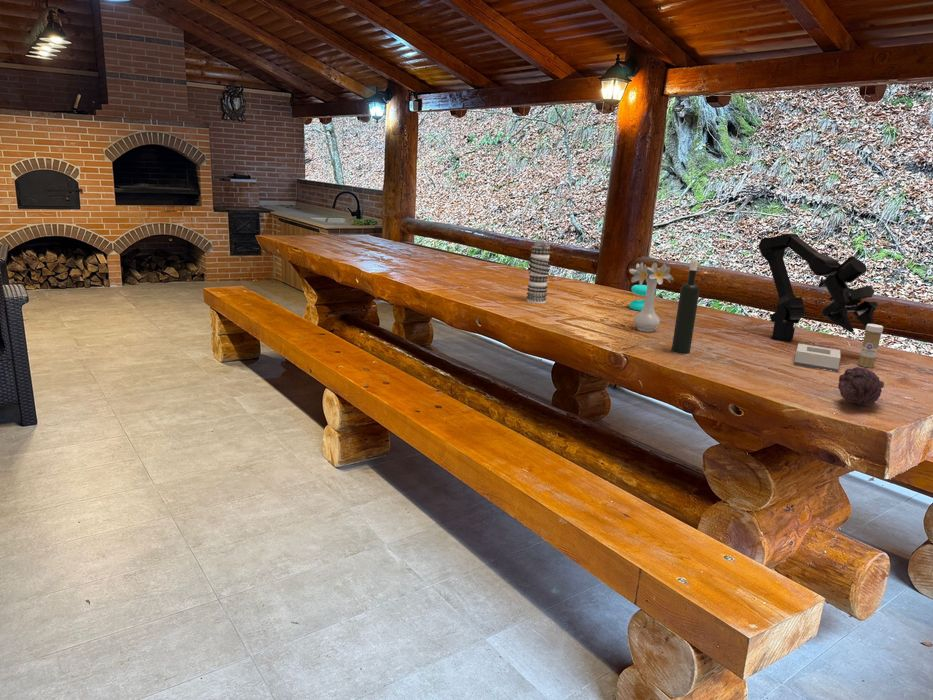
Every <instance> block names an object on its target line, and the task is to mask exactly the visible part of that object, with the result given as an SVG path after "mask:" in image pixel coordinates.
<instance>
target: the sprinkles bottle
mask: <svg viewBox="0 0 933 700" xmlns="http://www.w3.org/2000/svg"><path fill="white" fill-rule="evenodd" d="M883 331H884V326H883V325H880V324H876V323H873V324H867V325H866V327H865V332H864V337H863V340H862V341H863V342H862V345H861V350H860V353H859V358H858V362H857V365H858V366H860V367H861V368H866V369H868V368H869V369H872V368H874V366H875V362H876V358H877V354H878V350H879V345H880V342H881V341H880V340H881V336H882V334H883Z"/></svg>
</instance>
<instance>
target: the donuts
mask: <svg viewBox="0 0 933 700" xmlns="http://www.w3.org/2000/svg"><path fill="white" fill-rule="evenodd" d="M656 291H657V289H655V293H656ZM631 292H632V293H633V294H635V295H637V296H645V297H646V292H647V284H642V285H640V284H634V285H632V286H631ZM644 303H645V299H644V300H643V299H634V300H631V302H630V303H629V304H628V305H629V308H630V309H631V310H633V311H638V312H640V311H641V310H642V308H643V306H644Z"/></svg>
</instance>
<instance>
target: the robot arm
mask: <svg viewBox="0 0 933 700" xmlns="http://www.w3.org/2000/svg"><path fill="white" fill-rule="evenodd" d="M787 248H788V249H790V250H792V251H793V252H794V253H795V254H797V256H799V257H800V258H801V259H803V260H804V261H805V262H806V264H808V268H809V269H810V270H811V272H812V273H813V274H814V275H815V276H817V277H825V278H822V279H820V280H819V283H818V288H826V290H827V292H828V293H829V295H830V297H829V301H830V302H831V303H829V304H827V305H826V306H825V307H824V308H822V312H821V314H822V315H823V318H824V319H828V320H829V321H832V322H833V323H835V324H836V325H837V326H838V325H839V326H840V327H842V328H843V329H844V330H845V331H848V332H849V333H853V332H855V330H854V328H853V325H852V322H851V320H850V319H849V316H848V313H853V314H854V315H855V316H856V319H857V320H858V322H860V323H861V324H862V325H864V327H865V328H866V325H867V324H874V315H873V314H874V312H875V311H876V310H877V309H878V308H879V305H878V303H877V302H876V301H875V300H864V301H863V299H867V298H873V295H874V294H875V289H874V288H873V286H871V285H866V286H862V287H858V288H850V287H849V286H848V284H847V283H849V284H850V283H853V282H854V281H856V280H857V279H859V278H861V277H862V275H864V274H865V273H867V271H868V267H867V266H866V264H865V263H864V262H863V261H861V260H860V259H858V258H857V257H856V256H854V255H853V256H851V255H850V256H849V257H847V258H846V260H845V261H844V262H842V263H840V262H839V261H838V260H837V259H836V258H834V257H831V256H830V255H829V256H828V255H826V254H823V253H820V252H819V251H817V250H816V248H813V246H811V245H810V244H809V243H807V242H806V241H804V240H803V239H802V238H801V237H800V236H799V235H798V234H796V233H784V234H780V235H777V236H772V237H769V236H768V237H766V236H765V237H762V239H760V241H759V243H758V249H759V252H760V253H761V256H762V257H763V259H765V260H766V261H767V263H768V265H769V268H770V271H771V275H772V278H773V282H774V285H775V289H776V291H777V297H778V301H777V304H776V311H775V312H773V313H772V314H770V316H769V317H770V318H769V319H770V322H772V323H773V324H774V325H773V329H772V334H771V337H770V339H771V340H775V341H776V340H777V341H784V342H791V341H792V340H794V335H795V330H796V327H795V326H794V325H795V324H796V325H797V324H799V322H800V320H801V319H802V318H803V317H804V315H805V313H806V312H805V309H806V306H805V305H804V301H803V298H802V297H801V296H798V297H797V296H796V295H795V293H794V291H793V290H794V289H793V287H792V283H791V280H790V276H789V274H788V271H787V266H786V263H785V260H784V256H785V254H786V253H785V252H786V249H787Z"/></svg>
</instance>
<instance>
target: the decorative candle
mask: <svg viewBox="0 0 933 700" xmlns="http://www.w3.org/2000/svg"><path fill="white" fill-rule="evenodd" d="M550 250H551V246H550V245H549V244H548V243H546V242H535V243H534V244H533V245H532V246H531V254H530V255H529V256H528V257H529V259H528V262H529V264H528V270H529V272H528V275H529V279H528V284H527V287H528V288H527V293H526V302H527V303H531V304H545V303H547V296H548V295H547V292H548V290H547V289H548V287H549V286H548V282H547V281H548V277H549V276H550V273H549V272H550V269H549V268H550V267H551V261H550V260H549V259H550Z"/></svg>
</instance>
